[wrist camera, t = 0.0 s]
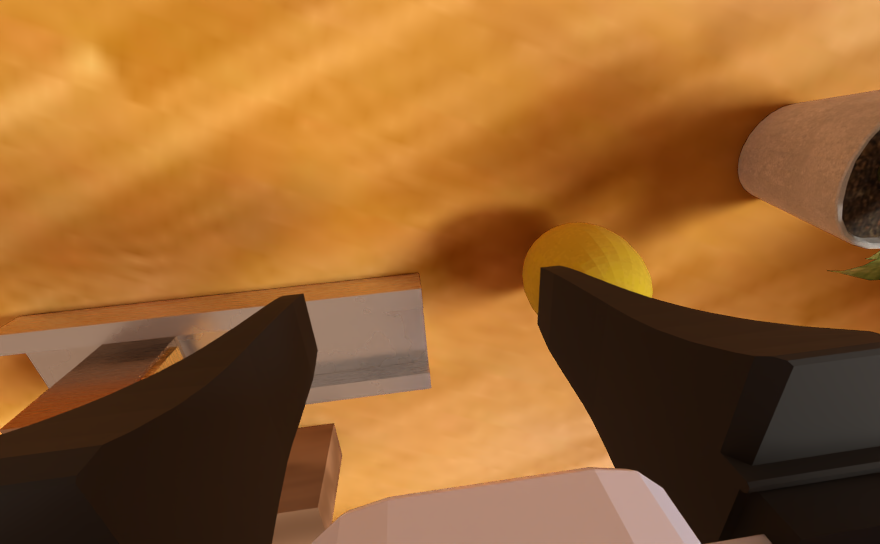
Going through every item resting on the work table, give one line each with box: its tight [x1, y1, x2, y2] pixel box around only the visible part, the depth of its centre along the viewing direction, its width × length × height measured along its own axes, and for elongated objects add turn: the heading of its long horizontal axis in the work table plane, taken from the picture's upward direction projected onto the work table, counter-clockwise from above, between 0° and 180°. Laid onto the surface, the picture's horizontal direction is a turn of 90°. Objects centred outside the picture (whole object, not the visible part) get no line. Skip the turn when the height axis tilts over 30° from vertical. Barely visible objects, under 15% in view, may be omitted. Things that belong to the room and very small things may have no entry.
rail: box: [0, 273, 431, 434], centre depth 20 cm, size 7×22×7 cm, turn 94°
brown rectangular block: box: [272, 423, 342, 544], centre depth 24 cm, size 3×4×6 cm
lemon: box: [522, 222, 653, 314], centre depth 19 cm, size 6×6×8 cm
